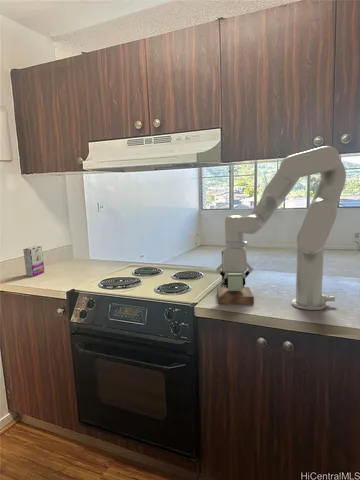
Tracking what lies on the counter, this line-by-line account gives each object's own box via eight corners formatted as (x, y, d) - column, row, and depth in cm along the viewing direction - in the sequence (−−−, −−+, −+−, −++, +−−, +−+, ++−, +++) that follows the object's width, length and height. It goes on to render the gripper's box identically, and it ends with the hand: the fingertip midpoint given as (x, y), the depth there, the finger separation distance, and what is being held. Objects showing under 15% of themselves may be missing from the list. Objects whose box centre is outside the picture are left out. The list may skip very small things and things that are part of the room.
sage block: (240, 286, 142) (240, 273, 141) (242, 290, 136) (242, 276, 135) (227, 286, 142) (226, 273, 142) (228, 290, 136) (228, 276, 136)
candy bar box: (37, 272, 200) (34, 245, 198) (44, 272, 199) (42, 245, 197) (25, 276, 189) (22, 248, 187) (33, 277, 188) (30, 248, 186)
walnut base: (248, 293, 146) (248, 286, 146) (253, 303, 133) (253, 296, 132) (217, 293, 147) (217, 287, 147) (219, 304, 133) (219, 297, 133)
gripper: (253, 243, 140) (253, 284, 142) (213, 244, 141) (213, 284, 143) (256, 246, 132) (256, 289, 135) (214, 247, 133) (214, 289, 136)
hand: (234, 286), depth 139 cm, fingers closed on sage block, 6 cm apart
